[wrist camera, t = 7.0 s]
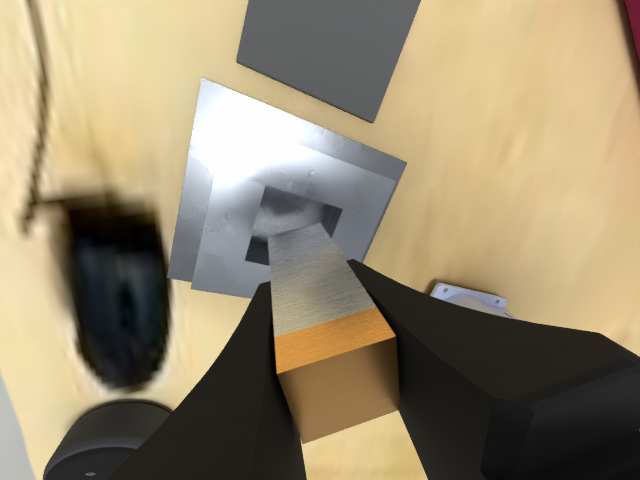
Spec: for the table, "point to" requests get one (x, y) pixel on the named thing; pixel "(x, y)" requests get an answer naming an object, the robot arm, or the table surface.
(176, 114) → the table surface
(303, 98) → the table surface
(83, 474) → the smart speaker
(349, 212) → the block
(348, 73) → the mat
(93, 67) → the table surface
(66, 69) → the table surface
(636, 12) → the book
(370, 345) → the orange and grey block
